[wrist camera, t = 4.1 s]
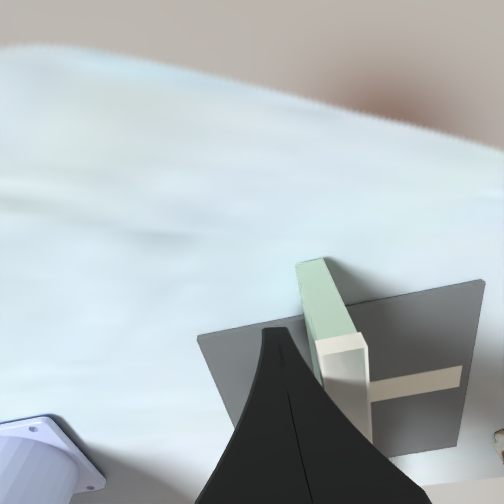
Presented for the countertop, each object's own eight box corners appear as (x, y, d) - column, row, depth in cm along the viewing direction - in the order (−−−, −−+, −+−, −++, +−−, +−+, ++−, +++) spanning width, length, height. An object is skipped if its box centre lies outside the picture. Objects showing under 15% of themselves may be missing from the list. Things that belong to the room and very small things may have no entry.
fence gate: (341, 391, 18) (375, 495, 13) (316, 396, 18) (342, 500, 14) (325, 257, 13) (368, 347, 9) (292, 264, 14) (319, 355, 9)
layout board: (255, 474, 23) (256, 479, 23) (197, 335, 16) (196, 340, 16) (453, 441, 22) (456, 447, 22) (481, 279, 15) (485, 283, 15)
